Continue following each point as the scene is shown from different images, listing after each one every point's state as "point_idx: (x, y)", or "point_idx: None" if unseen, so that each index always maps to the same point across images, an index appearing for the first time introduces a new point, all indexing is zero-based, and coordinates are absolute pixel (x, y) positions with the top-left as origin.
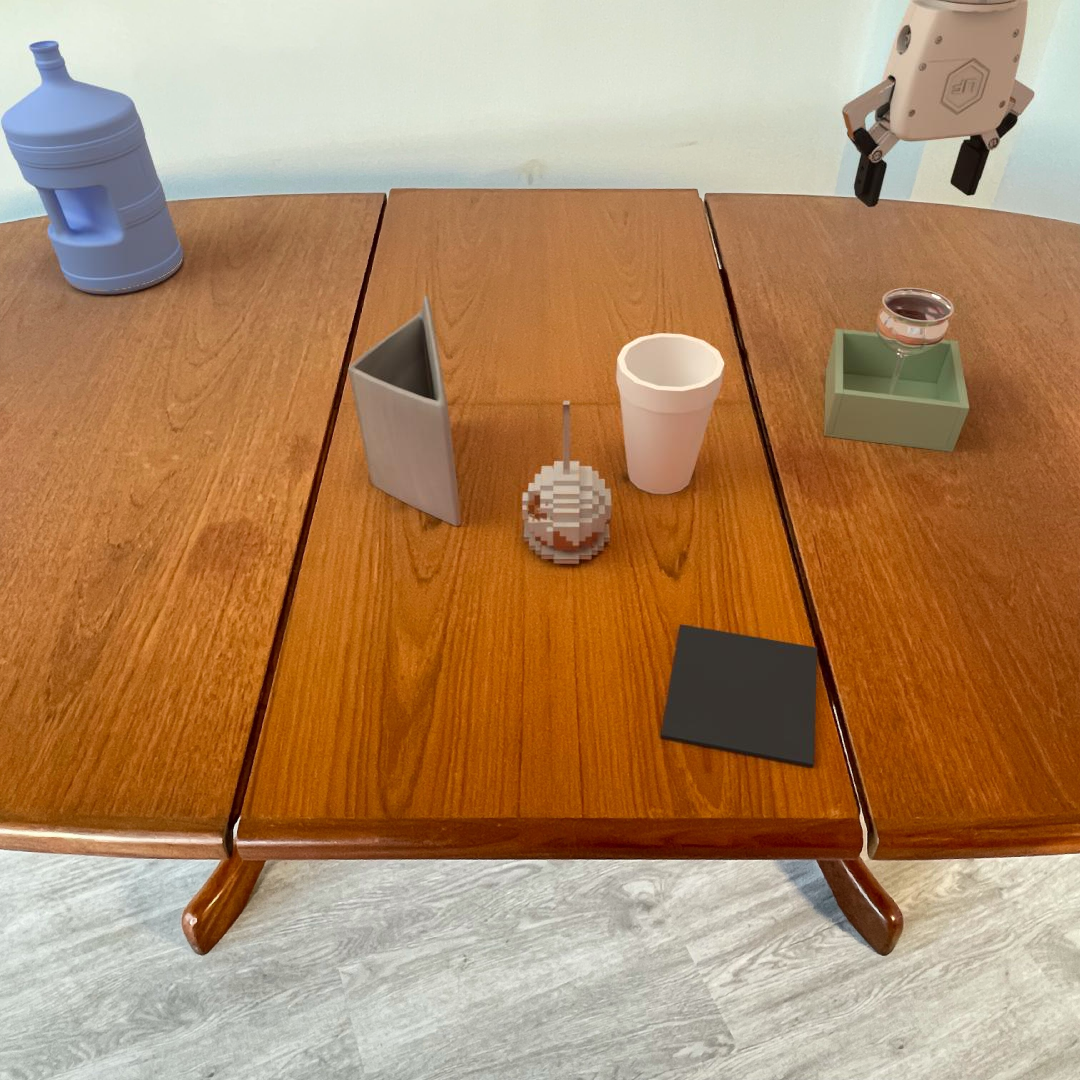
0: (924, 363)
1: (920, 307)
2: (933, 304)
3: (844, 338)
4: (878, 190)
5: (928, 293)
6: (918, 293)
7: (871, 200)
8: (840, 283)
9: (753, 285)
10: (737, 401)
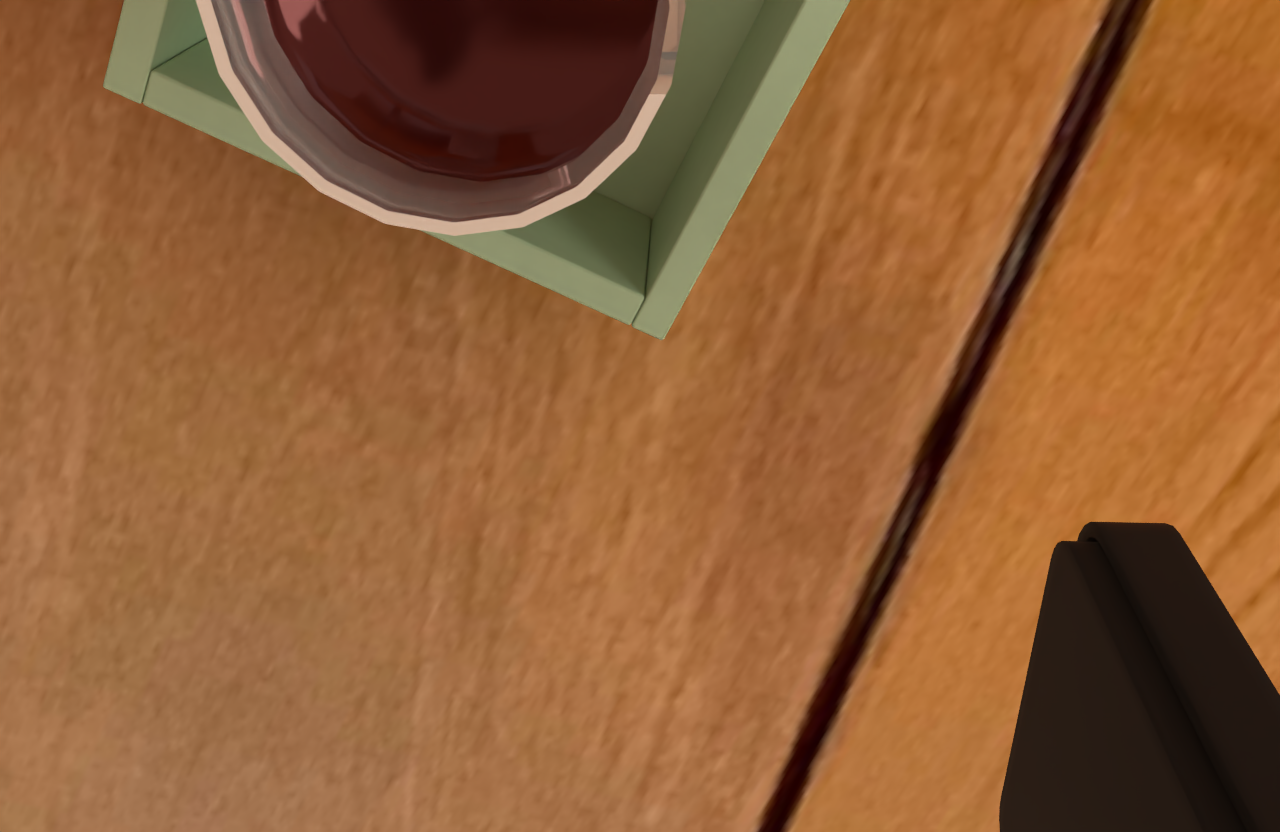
0: None
1: (334, 137)
2: (276, 76)
3: (637, 279)
4: (1186, 654)
5: (292, 143)
6: (349, 175)
7: (1199, 571)
8: (347, 756)
9: (672, 813)
10: (1156, 128)
